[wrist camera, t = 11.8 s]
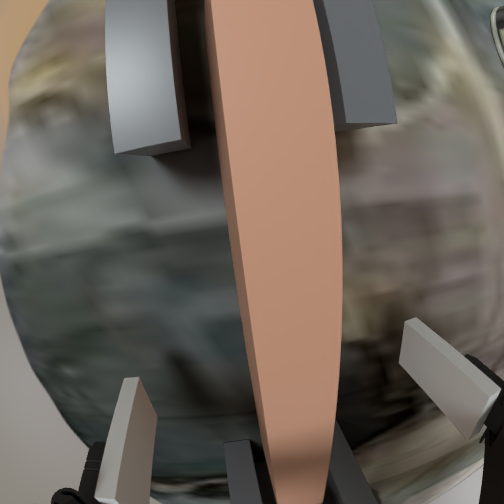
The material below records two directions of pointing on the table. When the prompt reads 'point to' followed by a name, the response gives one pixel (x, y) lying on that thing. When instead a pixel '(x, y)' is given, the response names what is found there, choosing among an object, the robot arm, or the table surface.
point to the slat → (282, 225)
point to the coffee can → (498, 30)
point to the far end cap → (260, 487)
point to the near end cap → (171, 81)
